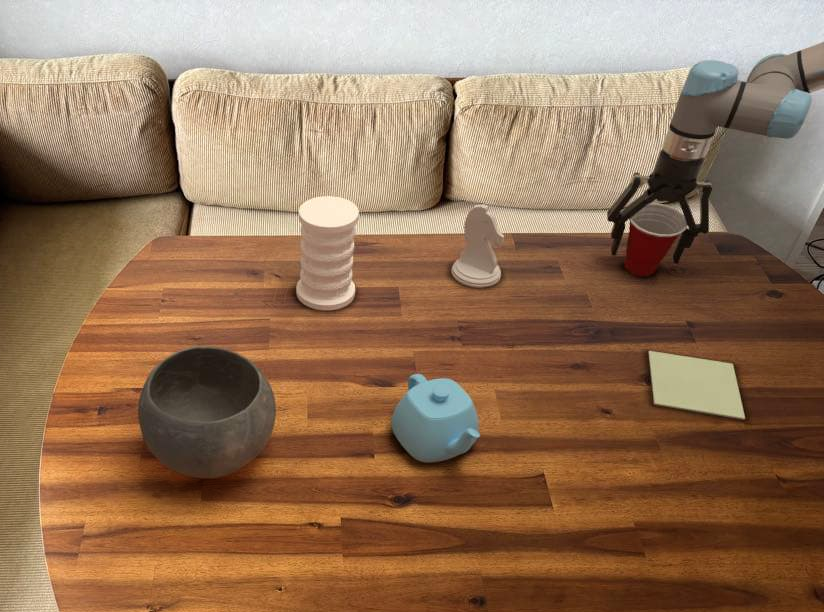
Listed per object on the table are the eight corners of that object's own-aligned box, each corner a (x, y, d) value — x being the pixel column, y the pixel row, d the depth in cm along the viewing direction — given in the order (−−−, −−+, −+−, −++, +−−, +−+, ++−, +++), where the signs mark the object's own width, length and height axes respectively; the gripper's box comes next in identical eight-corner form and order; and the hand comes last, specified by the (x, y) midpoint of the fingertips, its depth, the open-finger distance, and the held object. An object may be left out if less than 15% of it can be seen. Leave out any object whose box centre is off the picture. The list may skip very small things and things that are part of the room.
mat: (732, 365, 135) (732, 363, 135) (744, 420, 126) (745, 418, 125) (648, 352, 138) (648, 350, 138) (653, 404, 128) (654, 403, 128)
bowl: (212, 526, 111) (204, 456, 100) (118, 457, 121) (102, 387, 110) (302, 447, 122) (303, 377, 111) (210, 390, 131) (203, 320, 121)
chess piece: (486, 293, 151) (501, 226, 140) (442, 276, 155) (453, 210, 145) (508, 270, 156) (524, 204, 146) (465, 254, 161) (477, 189, 150)
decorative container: (346, 315, 146) (352, 232, 134) (288, 304, 149) (288, 222, 136) (361, 281, 154) (367, 200, 142) (305, 271, 157) (307, 191, 144)
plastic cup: (612, 280, 154) (631, 228, 145) (609, 251, 161) (627, 199, 153) (670, 287, 152) (692, 235, 143) (664, 258, 159) (685, 206, 151)
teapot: (443, 447, 107) (378, 370, 119) (433, 496, 115) (373, 418, 126) (517, 420, 111) (447, 347, 123) (502, 469, 118) (438, 396, 130)
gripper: (615, 154, 139) (583, 257, 154) (756, 170, 134) (709, 275, 150) (614, 136, 144) (583, 238, 159) (749, 151, 139) (704, 254, 155)
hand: (644, 256), depth 154 cm, fingers open, 11 cm apart
